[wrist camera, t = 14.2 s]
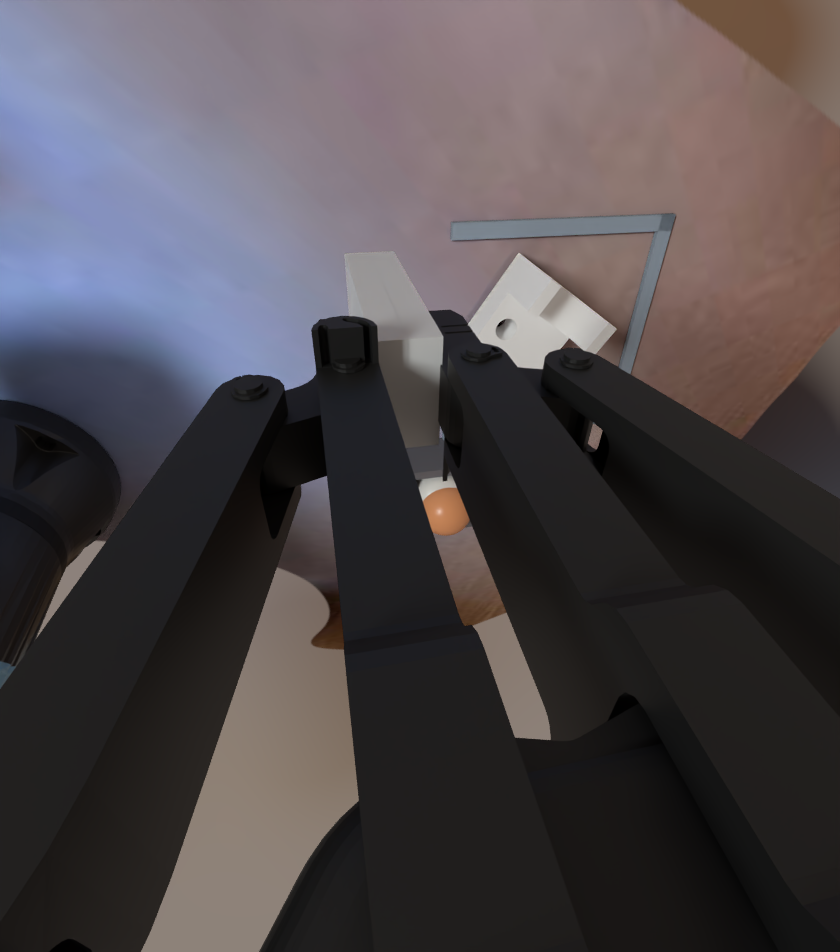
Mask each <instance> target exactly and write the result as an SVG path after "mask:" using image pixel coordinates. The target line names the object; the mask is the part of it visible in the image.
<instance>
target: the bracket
mask: <svg viewBox="0 0 840 952" xmlns="http://www.w3.org/2000/svg"><path fill="white" fill-rule="evenodd" d="M504 319H506V320H505V322H504V323H503V324H502V325H501V326H499V327H497V325H498V324H499V323H500V322H501V321H502V320H504ZM468 326H470V327H471V329H472V330H473V332H474V333H475V335H476V336H477V337H478V339H479V340H480V342H481V343H484V344H490V345H494V346H497V347H499V348H501V349H502V350H504V351H505V352H506V353H507V354H508V355H509V356H510V358H511V359H512V360H513V362H514V363H515V364H516V366H517V367H522V368H533V369H543V365H544V359H545V356H546V355H547V354H548V353H549V352H552V351H555V350H560V349H561V348H562V347H563V345H564V344H565V343H566V342H567V340H568V339H569V338H570V339H571V340H572V341H573V342H574V343H576V344H577V345H578V346H579V347H580V348H581V349H583V350H584V351H587V352H591V353H593V354H596V353H597V352H598V351H599V350H600V348H601V347H602V346H603V345H604V344H605V343H606V341H607V340H608V339H609V338H610V337H611V336H612V334H613V333H614V332H615V331H616V330H617V329H616V328H615V327H614V326H613V325H611V324H610V323H609V322H607V321H606V320H605V319H604V318H602V317H601V316H600V315H599V314H597V313H596V312H595V311H593V310H592V309H591V308H590V307H588V306H587V305H586V304H585V303H583V302H582V301H581V300H579V299H578V298H577V297H576V296H574V295H573V294H572V293H570V292H569V291H568V290H567V289H565V288H564V287H563V286H561V285H560V284H559V283H557V282H556V281H555V280H554V279H552V278H551V277H550V276H548V275H547V274H546V273H544V272H543V271H542V270H541V269H539V268H538V267H537V266H535V265H534V264H533V263H532V262H530V261H529V260H528V259H526V258H525V257H524V256H522V255H521V254H520V253H518V254H517V256H516V257H515V259H514V260H513V261H512V263H511V264H510V266H509V267H508V269H507V270H506V271H505V273H504V274H503V276H502V277H501V278H500V280H499V281H498V283H497V284H496V285H495V287H494V288H493V290H492V291H491V293H490V294H489V295H488V297H487V298H486V300H485V301H484V302H483V304H482V305H481V307H480V308H479V309H478V311H477V312H476V314H475V315H474V317H473V318H472V319H471V321H470V322H469V324H468Z"/></svg>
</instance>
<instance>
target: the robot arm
mask: <svg viewBox="0 0 840 952" xmlns="http://www.w3.org/2000/svg"><path fill="white" fill-rule="evenodd" d="M344 254H345V267H346V280H347V294H348V307H349V316H338V317H331V318H327V319H320V320H319V321H318V322H317V323H316V324H315V325H313V328H312V330H311V331H312V339H313V347H314V355H315V363H316V375H315V376H314V378H313V379H312V380H310V381H309V382H308V383H306V384H304V385H302V386H299V387H296V388H293V389H290V390H286V391H285V389H284V385H283V384H282V383H281V381H280V380H278V379H275V378H273V377H270V376H263V375H243V376H242V377H241V376H239V377H236V378H234V379H232V380H230V381H228V382H225V383H223V384H222V385H221V386H220V387H218V388H217V389H216V390H215V392H214V393H213V394H212V396H211V397H210V399H209V400H208V401H207V403H206V404H205V406H204V407H203V408H202V410H201V411H200V412H199V414H198V415H197V417H196V418H195V419H194V421H193V422H192V424H191V425H190V426H189V428H188V429H187V430H186V432H185V433H184V435H183V436H182V437H181V439H180V440H179V442H178V443H177V444H176V446H175V447H174V449H173V450H172V451H171V453H170V454H169V455H168V457H167V458H166V460H165V461H164V462H163V464H162V465H161V467H160V468H159V469H158V471H157V472H156V473H155V475H154V476H153V478H152V479H151V480H150V482H149V483H148V485H147V486H146V487H145V489H144V490H143V492H142V493H141V494H140V496H139V497H138V498H137V500H136V501H135V503H134V504H133V505H132V507H131V508H130V510H129V511H128V512H127V514H126V515H125V516H124V518H123V519H122V521H121V522H120V523H119V525H118V526H117V528H116V529H115V530H114V532H113V533H112V535H111V536H110V537H109V539H108V540H107V541H106V543H105V544H104V546H103V547H102V549H101V550H100V551H99V553H98V554H97V555H96V557H95V558H94V559H93V561H92V562H91V564H90V565H89V566H88V568H87V569H86V571H85V572H84V573H83V575H82V576H81V578H80V579H79V580H78V582H77V583H76V585H75V586H74V587H73V589H72V590H71V592H70V593H69V594H68V596H67V597H66V598H65V600H64V601H63V602H62V604H61V605H60V607H59V608H58V609H57V611H56V612H55V614H54V615H53V616H52V618H51V619H50V621H49V622H48V623H47V625H46V626H45V627H44V629H43V631H42V632H41V633H40V634H39V636H38V637H37V635H38V632H39V630H40V627H41V625H42V623H43V620H44V618H45V616H46V613H47V611H48V608H49V606H50V604H51V601H52V599H53V597H54V594H55V592H56V589H57V587H58V585H59V582H60V580H61V577H62V576H63V573H64V571H65V569H66V567H67V566H68V565H69V564H70V563H72V562H73V561H74V560H75V559H76V558H77V557H78V556H79V554H80V553H81V552H82V551H83V549H84V548H85V547H87V546H88V545H90V544H91V543H92V542H94V541H95V540H96V539H97V538H98V537H99V536H100V535H101V534H102V533H103V532H104V531H105V530H106V528H107V527H108V525H109V524H110V522H111V520H112V518H113V515H114V513H115V510H116V508H117V505H118V502H119V499H120V493H121V485H120V478H119V475H118V472H117V469H116V467H115V465H114V463H113V461H112V460H111V458H110V457H109V455H108V454H107V452H106V451H105V450H104V449H103V448H102V446H101V445H100V444H99V443H98V442H97V441H96V440H94V439H93V438H92V437H91V436H90V435H89V434H87V433H86V432H85V431H83V430H82V429H80V428H79V427H77V426H76V425H74V424H73V423H71V422H69V421H67V420H65V419H63V418H61V417H59V416H57V415H55V414H53V413H50V412H48V411H45V410H42V409H39V408H36V407H33V406H29V405H25V404H21V403H16V402H10V401H1V400H0V952H141V950H142V948H143V946H144V944H145V942H146V940H147V937H148V935H149V933H150V931H151V928H152V926H153V923H154V921H155V918H156V916H157V913H158V910H159V908H160V905H161V903H162V900H163V897H164V895H165V892H166V890H167V887H168V885H169V882H170V879H171V877H172V874H173V871H174V868H175V865H176V862H177V859H178V856H179V853H180V851H181V847H182V845H183V842H184V839H185V836H186V833H187V830H188V827H189V824H190V821H191V818H192V815H193V812H194V809H195V806H196V803H197V800H198V797H199V794H200V791H201V788H202V786H203V783H204V780H205V777H206V774H207V771H208V768H209V765H210V762H211V759H212V756H213V753H214V750H215V747H216V744H217V742H218V738H219V736H220V733H221V730H222V727H223V724H224V721H225V718H226V715H227V712H228V709H229V706H230V703H231V700H232V697H233V695H234V692H235V689H236V686H237V683H238V680H239V677H240V674H241V671H242V668H243V665H244V662H245V659H246V656H247V653H248V650H249V647H250V644H251V642H252V639H253V635H254V632H255V630H256V627H257V624H258V621H259V618H260V615H261V612H262V609H263V606H264V603H265V600H266V597H267V594H268V591H269V588H270V585H271V583H272V579H273V577H274V574H275V571H276V568H277V565H278V562H279V559H280V556H281V553H282V550H283V547H284V544H285V541H286V538H287V536H288V533H289V530H290V527H291V524H292V521H293V518H294V515H295V512H296V509H297V506H298V503H299V500H300V497H301V484H304V483H307V482H310V481H313V480H316V479H318V478H321V477H324V476H327V480H328V489H329V499H330V509H331V519H332V528H333V538H334V548H335V558H336V567H337V577H338V587H339V597H340V607H341V616H342V626H343V636H344V655H345V665H346V676H347V686H348V695H349V706H350V716H351V725H352V736H353V746H354V756H355V765H356V775H357V785H358V796H359V801H358V802H357V803H356V804H355V805H354V806H353V807H352V808H351V809H350V810H348V811H347V812H346V813H345V814H344V815H343V816H342V817H341V818H340V819H339V820H338V821H337V823H336V824H335V825H334V826H333V827H332V828H331V829H330V831H329V832H328V833H327V834H326V835H325V836H324V838H323V839H322V840H321V842H320V843H319V845H318V846H317V848H316V849H315V851H314V852H313V854H312V855H311V856H310V858H309V860H308V861H307V863H306V864H305V866H304V868H303V870H302V871H301V873H300V875H299V877H298V879H297V880H296V882H295V884H294V886H293V888H292V890H291V892H290V894H289V896H288V898H287V900H286V901H285V904H284V905H283V907H282V909H281V911H280V913H279V915H278V917H277V919H276V921H275V923H274V924H273V926H272V928H271V930H270V932H269V934H268V936H267V938H266V940H265V942H264V944H263V945H262V947H261V949H260V951H259V952H840V499H839V498H838V497H836V496H834V495H832V494H831V493H829V492H827V491H826V490H824V489H822V488H821V487H819V486H817V485H816V484H814V483H812V482H810V481H809V480H807V479H805V478H804V477H802V476H800V475H799V474H797V473H795V472H794V471H792V470H790V469H789V468H787V467H785V466H784V465H782V464H780V463H778V462H777V461H775V460H774V459H772V458H770V457H768V456H766V455H765V454H763V453H762V452H760V451H758V450H757V449H755V448H753V447H752V446H750V445H748V444H747V443H745V442H743V441H742V440H740V439H738V438H737V437H735V436H733V435H731V434H730V433H728V432H726V431H725V430H723V429H721V428H720V427H718V426H716V425H715V424H713V423H711V422H710V421H708V420H706V419H705V418H703V417H701V416H699V415H698V414H696V413H694V412H693V411H691V410H689V409H688V408H686V407H684V406H683V405H681V404H679V403H678V402H676V401H674V400H673V399H671V398H669V397H667V396H666V395H664V394H662V393H661V392H659V391H657V390H656V389H654V388H652V387H651V386H649V385H647V384H646V383H644V382H642V381H641V380H639V379H637V378H635V377H634V376H632V375H630V374H629V373H627V372H625V371H624V370H622V369H620V368H619V367H617V366H615V365H614V364H612V363H610V362H609V361H607V360H605V359H603V358H602V357H600V356H598V355H596V354H593V353H591V352H587V351H583V350H582V349H579V348H574V349H573V348H565V349H560V350H555V351H552V352H549V353H548V354H547V355H546V356H545V359H544V365H543V369H533V368H522V367H517V366H516V364H515V363H514V362H513V360H512V359H511V358H510V356H509V355H508V354H507V353H506V352H505V351H504V350H502V349H501V348H499V347H497V346H494V345H490V344H484V343H481V342H480V340H479V339H478V337H477V336H476V335H475V333H474V332H473V330H472V329H471V327H470V326H468V323H467V322H466V320H465V319H464V318H463V316H461V315H459V314H457V313H455V312H454V311H452V310H437V311H428V309H427V308H426V306H425V304H424V303H423V301H422V299H421V297H420V296H419V294H418V292H417V291H416V289H415V287H414V285H413V284H412V282H411V280H410V279H409V277H408V275H407V273H406V272H405V270H404V268H403V267H402V265H401V263H400V261H399V260H398V258H397V256H396V255H395V253H394V251H389V252H366V253H344ZM593 423H594V424H596V425H597V426H598V427H600V428H601V429H602V430H603V432H602V435H601V439H600V443H599V446H598V448H597V450H596V449H594V448H592V447H591V446H590V445H589V444H588V440H589V436H590V432H591V429H592V425H593ZM440 426H441V429H442V431H443V433H444V453H443V474H442V477H443V481H447V478H448V474H449V472H451V474H452V477H453V479H454V482H455V484H456V487H457V489H458V492H459V494H460V497H461V499H462V502H463V504H464V507H465V509H466V512H467V514H468V517H469V519H470V522H471V524H472V527H473V529H474V532H475V534H476V537H477V539H478V542H479V544H480V547H481V549H482V552H483V554H484V557H485V559H486V562H487V564H488V567H489V569H490V572H491V574H492V577H493V579H494V582H495V584H496V587H497V589H498V592H499V594H500V597H501V599H502V602H503V604H504V607H505V609H506V612H507V614H508V617H509V619H510V622H511V624H512V627H513V629H514V632H515V634H516V636H517V639H518V641H519V644H520V647H521V649H522V651H523V654H524V656H525V659H526V661H527V664H528V666H529V669H530V671H531V674H532V676H533V679H534V681H535V684H536V686H537V689H538V691H539V694H540V696H541V699H542V701H543V704H544V706H545V709H546V712H547V715H548V720H549V724H550V733H551V740H540V739H525V738H515V737H514V734H513V731H512V728H511V725H510V722H509V719H508V716H507V714H506V711H505V708H504V705H503V702H502V699H501V697H500V693H499V690H498V687H497V684H496V682H495V679H494V676H493V673H492V670H491V667H490V664H489V661H488V658H487V655H486V652H485V650H484V647H483V644H482V642H481V640H480V637H479V635H478V633H477V631H476V630H475V629H474V628H473V626H472V625H469V626H464V624H463V623H462V621H461V619H460V616H459V614H458V611H457V607H456V604H455V601H454V598H453V595H452V592H451V589H450V585H449V582H448V579H447V576H446V573H445V570H444V567H443V563H442V560H441V557H440V554H439V551H438V548H437V545H436V541H435V538H434V535H433V532H432V529H431V526H430V523H429V519H428V516H427V513H426V510H425V507H424V504H423V501H422V497H421V494H420V491H419V488H418V485H417V482H416V479H415V475H414V472H413V469H412V466H411V463H410V460H409V456H408V453H407V450H406V448H411V447H421V446H430V445H439V431H440ZM36 637H37V639H36ZM35 639H36V640H35Z"/></svg>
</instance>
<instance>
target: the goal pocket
mask: <svg viewBox="0 0 840 952" xmlns="http://www.w3.org/2000/svg"><path fill="white" fill-rule="evenodd" d="M675 216H676V214H673V213H672V214H646V215H620V216H594V217H568V218H542V219H516V220H490V221H464V222H451V240H474V239H497V238H519V237H542V236H564V235H587V234H609V233H632V232H654V231H655V233H654V236H653V240H652V244H651V248H650V251H649V255H648V259H647V262H646V266H645V270H644V274H643V277H642V281H641V285H640V289H639V292H638V296H637V300H636V304H635V307H634V311H633V315H632V319H631V322H630V326H629V330H628V334H627V337H626V341H625V345H624V349H623V352H622V356H621V360H620V364H619V368H620V369H622V370H624V371H625V372H627V373H629V374H631V370H632V367H633V363H634V360H635V356H636V353H637V349H638V345H639V342H640V338H641V335H642V331H643V328H644V324H645V321H646V317H647V314H648V310H649V307H650V303H651V300H652V296H653V293H654V289H655V286H656V282H657V279H658V275H659V272H660V268H661V265H662V261H663V258H664V254H665V251H666V247H667V244H668V240H669V237H670V233H671V230H672V226H673V223H674V219H675ZM593 424H594V423H593ZM442 439H443V440H444V433H443V432H442Z"/></svg>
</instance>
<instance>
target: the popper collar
mask: <svg viewBox="0 0 840 952" xmlns="http://www.w3.org/2000/svg"><path fill="white" fill-rule="evenodd" d="M406 450H407V453H408V456H409V460H410V463H411V466H412V469H413V472H414V475H415V479H416V480H420V479H428V478H437V477H442V474H443V453H444V440H443V439H442V438H439V445H430V446H421V447H411V448H406ZM448 476H452V474H451V472H449V474H448ZM471 526H472V524H471V522H470V521H469V523H468V524H467V525H466V527H471Z"/></svg>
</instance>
